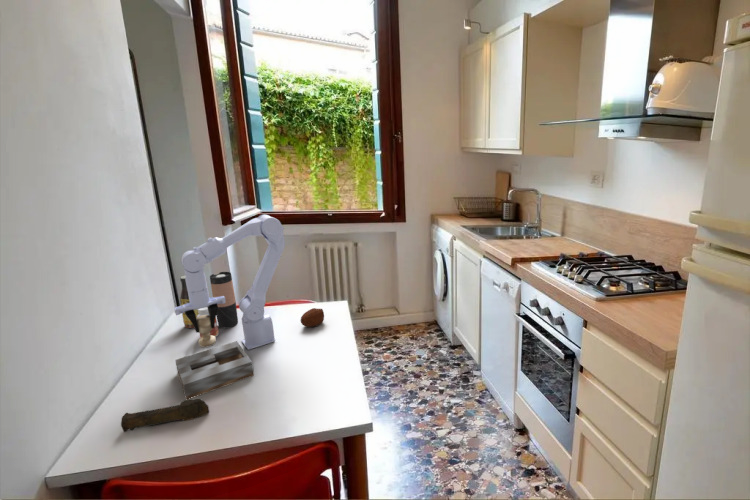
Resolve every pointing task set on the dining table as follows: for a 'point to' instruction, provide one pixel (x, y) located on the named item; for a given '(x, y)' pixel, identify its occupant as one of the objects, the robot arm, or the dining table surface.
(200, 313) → the pill bottle
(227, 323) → the travel mug
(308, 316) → the potato
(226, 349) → the keyhole plate
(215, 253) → the robot arm
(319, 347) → the dining table surface
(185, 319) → the sauce bottle
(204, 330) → the keyhole peg
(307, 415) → the dining table surface
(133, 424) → the hand tool
